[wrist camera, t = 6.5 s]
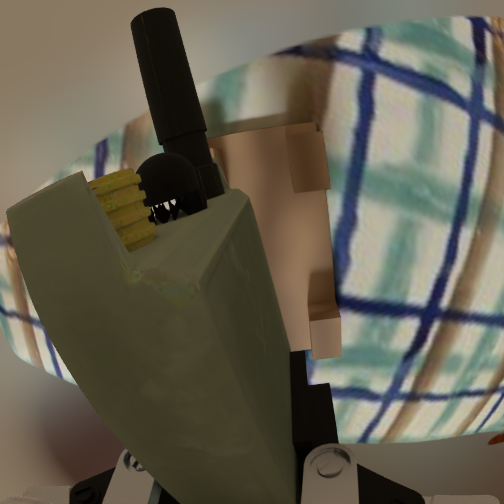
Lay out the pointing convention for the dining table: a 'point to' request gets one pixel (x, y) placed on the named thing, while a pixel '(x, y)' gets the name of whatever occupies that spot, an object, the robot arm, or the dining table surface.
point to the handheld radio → (168, 301)
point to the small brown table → (290, 224)
